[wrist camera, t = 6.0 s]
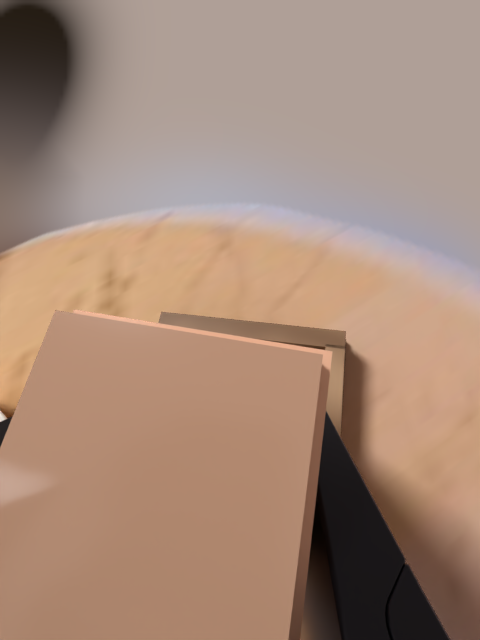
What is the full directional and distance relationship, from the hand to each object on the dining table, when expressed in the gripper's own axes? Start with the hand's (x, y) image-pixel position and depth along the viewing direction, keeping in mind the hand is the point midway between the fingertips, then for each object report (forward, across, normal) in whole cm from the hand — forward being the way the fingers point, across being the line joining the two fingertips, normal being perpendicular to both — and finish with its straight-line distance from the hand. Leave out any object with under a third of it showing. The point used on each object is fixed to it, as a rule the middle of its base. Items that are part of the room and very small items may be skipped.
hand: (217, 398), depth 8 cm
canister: (+4, 0, +6) cm, 7 cm away
